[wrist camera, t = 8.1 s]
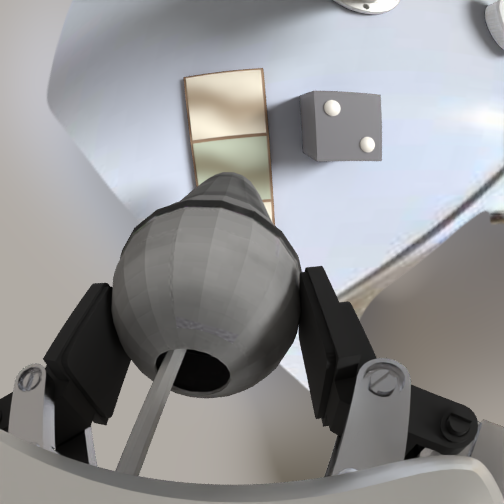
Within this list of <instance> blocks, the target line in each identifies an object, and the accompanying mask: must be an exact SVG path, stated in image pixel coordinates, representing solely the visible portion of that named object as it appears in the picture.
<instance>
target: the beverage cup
mask: <svg viewBox="0 0 504 504" xmlns="http://www.w3.org/2000/svg"><path fill="white" fill-rule="evenodd" d="M300 272H302V271H301V266H300V262H299V257H298V255H297V253H296V252H295V250H294V249H293V247H292V246H291V244H290V243H289V241H288V240H287V238H286V237H285V235H284V234H283V233H282V231H281V230H279V229H278V228H277V227H276V226H275V225H274V224H273V223H272V221H271V219H270V216H269V214H268V212H267V210H266V208H265V205H264V203H263V201H262V199H261V197H260V194H259V193H258V191H257V190H256V188H255V187H254V185H253V184H252V183H251V181H250V180H248V179H247V178H246V177H244V176H243V175H240V174H237V173H234V172H222V173H219V174H216V175H214V176H212V177H210V178H208V179H207V180H205V181H204V182H203V183H201V184H200V185H199V186H198V187H196V188H195V189H194V190H193V191H191V192H190V193H189V194H188V195H187V196H185V197H184V198H183V199H182V200H181V201H180V202H176V203H174V204H172V205H170V206H167V207H164V208H161V209H158V210H156V211H155V212H154V213H152V214H151V215H150V216H149V217H147V218H146V219H145V220H144V221H142V222H141V223H140V224H139V225H138V226H136V228H134V230H133V232H132V233H131V235H130V237H129V239H128V241H127V243H126V244H125V246H124V248H123V250H122V253H121V257H120V261H119V263H118V265H117V267H116V271H115V273H114V277H113V290H112V307H111V311H112V317H113V322H114V325H115V328H116V331H117V334H118V337H119V340H120V342H121V344H122V346H123V348H124V350H125V352H126V353H127V355H128V356H129V357H130V359H131V360H132V361H133V362H134V364H135V365H136V366H137V367H138V369H139V370H140V371H141V372H142V373H143V374H145V375H146V376H147V377H148V378H150V379H151V380H152V381H153V383H152V386H151V388H150V390H149V392H148V395H147V397H146V400H145V401H144V404H143V406H142V409H141V411H140V413H139V415H138V418H137V420H136V423H135V425H134V427H133V429H132V432H131V434H130V437H129V439H128V441H127V444H126V446H125V449H124V451H123V453H122V456H121V458H120V461H119V463H118V466H117V469H116V472H120V473H125V474H129V475H135V476H139V473H140V470H141V468H142V465H143V462H144V459H145V457H146V454H147V451H148V448H149V446H150V443H151V440H152V438H153V435H154V432H155V430H156V427H157V424H158V422H159V419H160V416H161V414H162V411H163V408H164V406H165V403H166V401H167V398H168V395H169V393H170V391H173V392H175V393H178V394H181V395H185V396H189V397H197V398H216V397H225V396H230V395H232V394H236V393H238V392H241V391H244V390H246V389H248V388H250V387H253V386H254V385H255V384H257V383H258V382H259V381H261V380H262V379H264V378H265V377H267V376H268V375H269V374H270V373H271V372H272V371H273V370H274V369H276V367H277V366H278V365H279V363H280V362H281V360H282V359H283V357H284V356H285V354H286V353H287V351H288V350H289V348H290V347H291V345H292V344H293V342H294V339H295V337H296V334H297V331H298V325H299V320H300V314H301V302H300V291H299V276H300Z"/></svg>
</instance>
